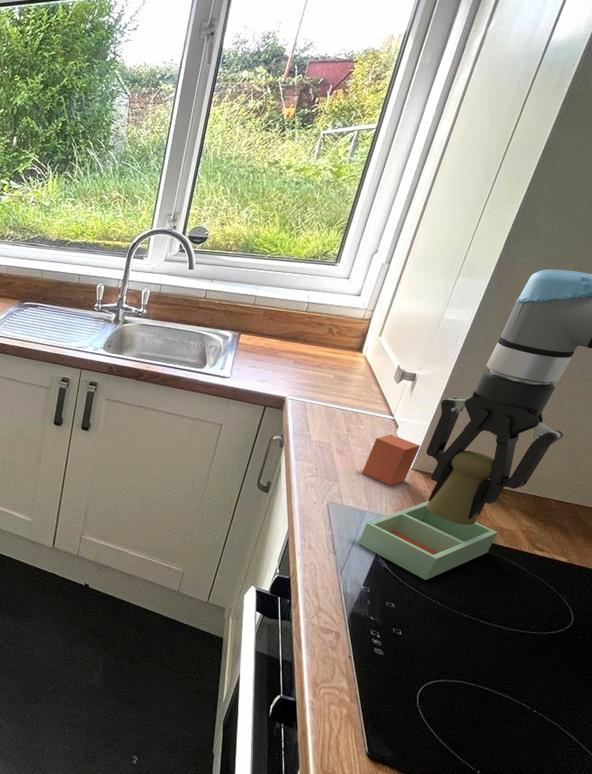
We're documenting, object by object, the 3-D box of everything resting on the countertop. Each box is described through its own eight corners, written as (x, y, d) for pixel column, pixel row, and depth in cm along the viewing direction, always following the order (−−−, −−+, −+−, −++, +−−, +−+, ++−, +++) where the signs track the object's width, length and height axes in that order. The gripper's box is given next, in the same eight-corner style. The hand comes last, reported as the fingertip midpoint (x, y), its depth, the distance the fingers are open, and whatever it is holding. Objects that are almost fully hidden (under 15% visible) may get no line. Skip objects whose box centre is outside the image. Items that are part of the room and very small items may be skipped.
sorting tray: (419, 520, 103) (428, 500, 101) (487, 552, 95) (498, 532, 94) (357, 543, 96) (366, 522, 95) (425, 580, 88) (436, 558, 87)
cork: (425, 513, 95) (453, 454, 91) (426, 498, 99) (453, 442, 95) (476, 529, 91) (508, 469, 87) (474, 513, 95) (505, 455, 91)
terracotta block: (404, 480, 116) (420, 445, 112) (389, 485, 114) (405, 449, 111) (376, 468, 120) (390, 434, 117) (361, 472, 118) (376, 438, 115)
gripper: (616, 395, 80) (535, 533, 89) (461, 354, 94) (405, 477, 103) (591, 402, 77) (510, 544, 86) (435, 359, 92) (380, 485, 101)
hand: (453, 507), depth 95 cm, fingers closed on cork, 4 cm apart
